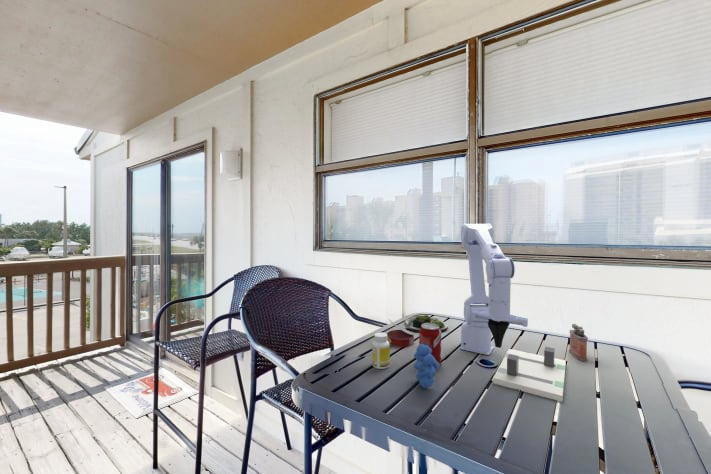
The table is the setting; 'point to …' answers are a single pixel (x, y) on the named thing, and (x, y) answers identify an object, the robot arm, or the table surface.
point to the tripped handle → (512, 364)
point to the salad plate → (418, 320)
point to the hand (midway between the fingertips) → (498, 346)
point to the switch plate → (533, 375)
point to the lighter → (578, 343)
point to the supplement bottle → (380, 351)
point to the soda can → (431, 339)
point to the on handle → (549, 356)
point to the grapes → (425, 365)
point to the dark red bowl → (400, 337)
